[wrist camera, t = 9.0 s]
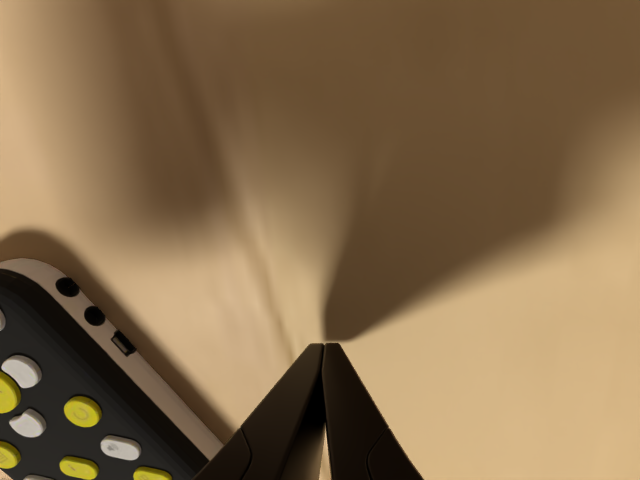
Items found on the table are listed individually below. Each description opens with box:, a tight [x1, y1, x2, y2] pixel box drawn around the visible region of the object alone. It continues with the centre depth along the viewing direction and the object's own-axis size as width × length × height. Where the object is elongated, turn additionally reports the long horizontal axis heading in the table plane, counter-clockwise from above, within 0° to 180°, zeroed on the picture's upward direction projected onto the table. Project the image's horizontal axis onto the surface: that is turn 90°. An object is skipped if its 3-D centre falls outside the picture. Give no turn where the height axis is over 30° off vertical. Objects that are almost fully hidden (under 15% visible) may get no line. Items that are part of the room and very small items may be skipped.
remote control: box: [0, 258, 224, 480], centre depth 11 cm, size 6×13×2 cm, turn 32°
